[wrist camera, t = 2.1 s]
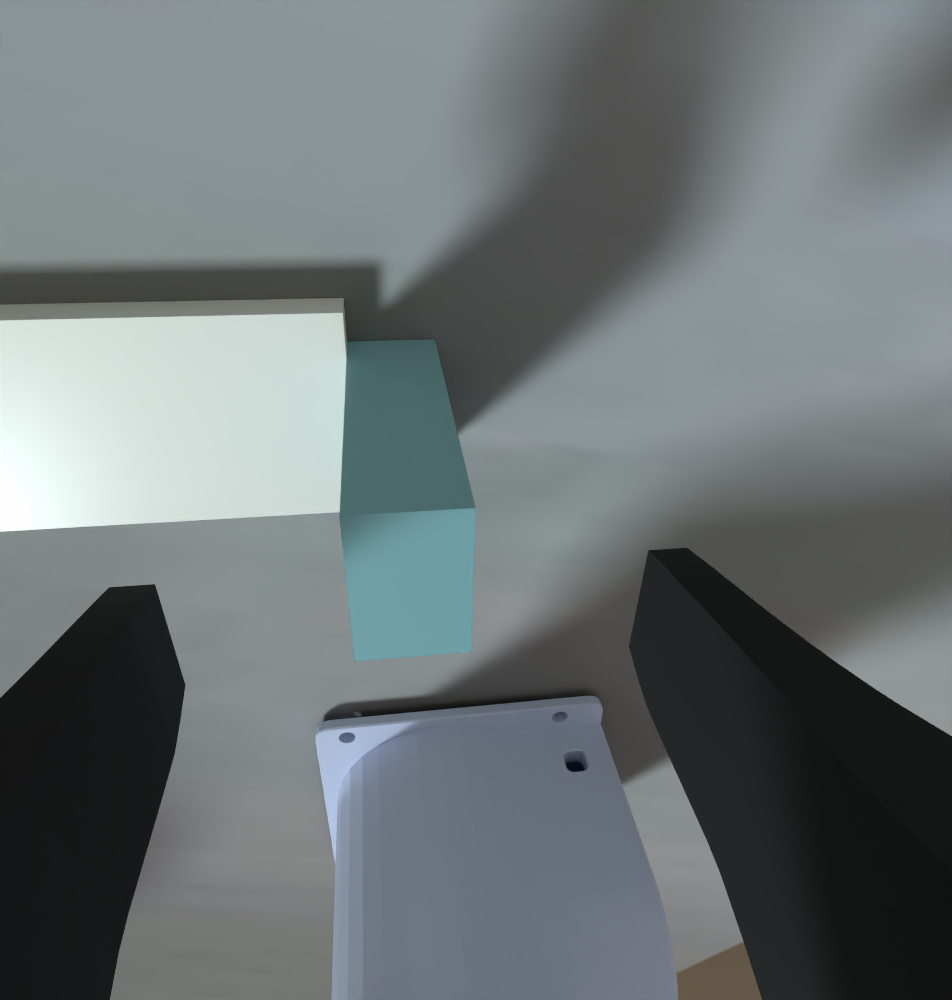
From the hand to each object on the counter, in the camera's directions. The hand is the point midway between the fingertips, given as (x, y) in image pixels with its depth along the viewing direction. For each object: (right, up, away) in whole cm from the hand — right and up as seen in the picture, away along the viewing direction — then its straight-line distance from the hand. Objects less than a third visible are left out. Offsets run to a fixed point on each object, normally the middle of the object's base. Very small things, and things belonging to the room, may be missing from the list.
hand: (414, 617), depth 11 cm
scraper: (-7, +4, +6) cm, 10 cm away
